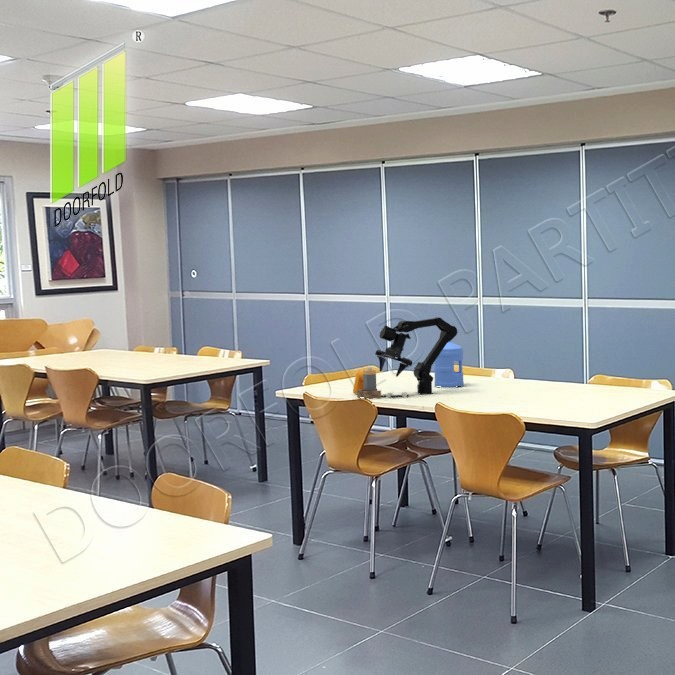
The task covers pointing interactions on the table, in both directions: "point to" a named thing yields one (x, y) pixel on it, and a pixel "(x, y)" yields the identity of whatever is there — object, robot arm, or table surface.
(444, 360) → the water jug
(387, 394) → the cable clips
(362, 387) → the orange rounded lump
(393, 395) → the cable run
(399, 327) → the robot arm
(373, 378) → the grey tall block
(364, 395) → the end cradle
